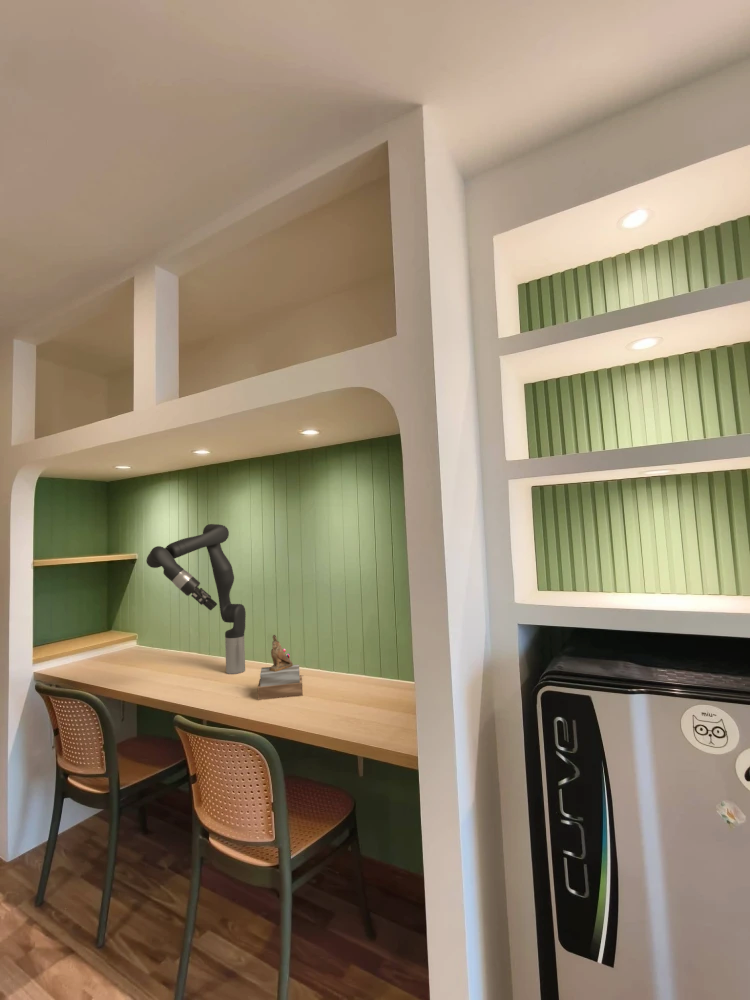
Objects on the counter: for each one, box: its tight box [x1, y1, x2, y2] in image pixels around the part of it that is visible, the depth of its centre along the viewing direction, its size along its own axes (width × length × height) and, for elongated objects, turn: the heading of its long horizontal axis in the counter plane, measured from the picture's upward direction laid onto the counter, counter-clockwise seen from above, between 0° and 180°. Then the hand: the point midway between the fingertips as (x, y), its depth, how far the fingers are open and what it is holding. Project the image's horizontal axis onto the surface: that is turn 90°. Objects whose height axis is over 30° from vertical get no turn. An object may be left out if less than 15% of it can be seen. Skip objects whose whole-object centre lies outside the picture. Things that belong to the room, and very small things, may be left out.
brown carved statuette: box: [269, 634, 294, 672], centre depth 209 cm, size 11×5×16 cm, turn 139°
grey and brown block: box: [257, 664, 304, 701], centre depth 207 cm, size 12×18×10 cm, turn 100°
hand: (214, 607), depth 213 cm, fingers open, 8 cm apart
